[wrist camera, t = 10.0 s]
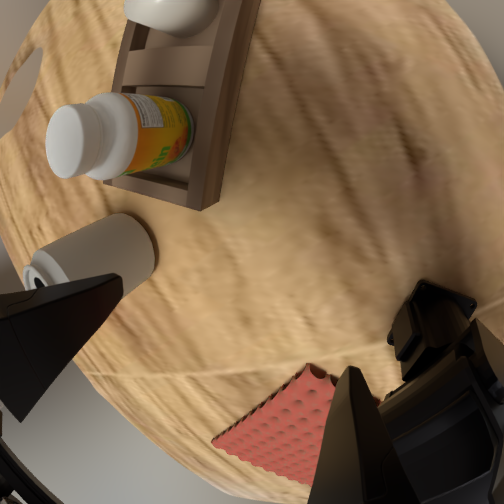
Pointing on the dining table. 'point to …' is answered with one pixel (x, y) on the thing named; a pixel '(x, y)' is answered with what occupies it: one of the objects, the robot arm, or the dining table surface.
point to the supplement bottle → (117, 135)
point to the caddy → (189, 98)
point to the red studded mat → (284, 429)
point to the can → (95, 255)
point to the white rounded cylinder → (173, 15)
